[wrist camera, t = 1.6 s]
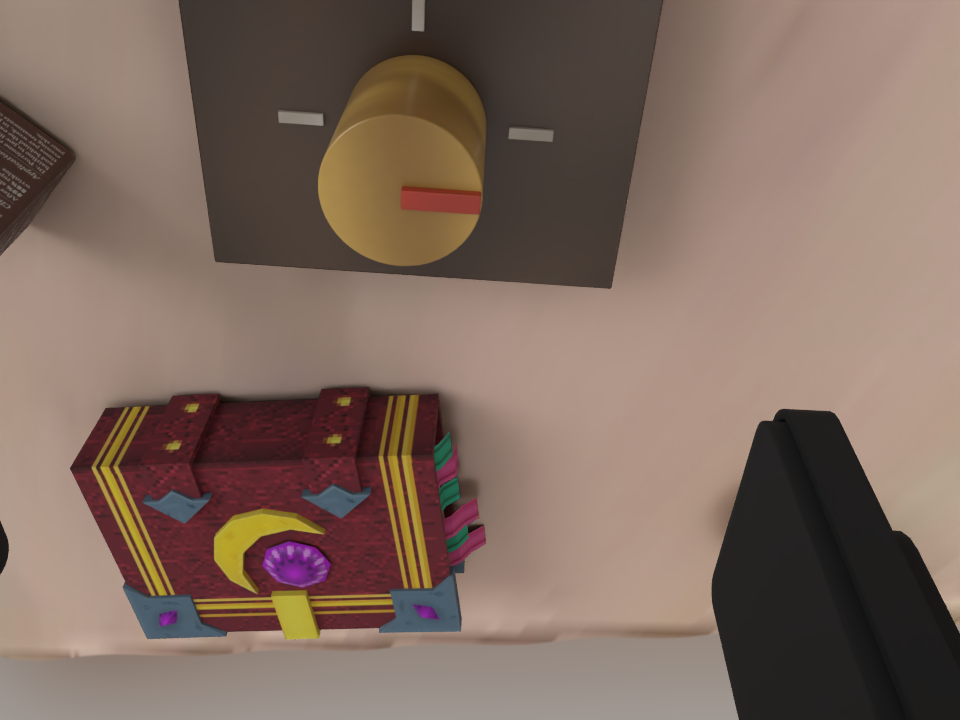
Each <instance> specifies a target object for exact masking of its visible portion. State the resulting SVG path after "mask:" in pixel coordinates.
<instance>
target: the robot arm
mask: <svg viewBox="0 0 960 720" xmlns="http://www.w3.org/2000/svg"><path fill="white" fill-rule="evenodd" d="M8 552H9V544H8V539H7V536H6V534H5V531H4V529H3V526H2V524H1V522H0V574H1V573H2V571H3V569H4V567H5V565H6V562H7V558H8ZM712 604H713V609H714V613H715V618H716V622H717V626H718V631H719V635H720V639H721V643H722V648H723V652H724V657H725V661H726V666H727V670H728V674H729V679H730V683H731V687H732V691H733V696H734V700H735V705H736V709H737V713H738V717H739V720H960V633H959V631H958V629H957V627H956V625H955V623H954V621H953V619H952V617H951V615H950V613H949V611H948V609H947V607H946V605H945V603H944V601H943V599H942V597H941V595H940V593H939V591H938V589H937V587H936V585H935V583H934V581H933V579H932V577H931V575H930V573H929V571H928V569H927V567H926V565H925V563H924V561H923V559H922V557H921V555H920V553H919V551H918V549H917V548H916V546H915V545H914V543H913V542H912V540H911V539H910V538H909V537H908V536H907V535H905V534H904V533H903V532H901V531H892V528H891V526H890V524H889V522H888V520H887V518H886V516H885V514H884V512H883V510H882V508H881V506H880V504H879V502H878V499H877V497H876V495H875V493H874V491H873V489H872V487H871V485H870V483H869V481H868V479H867V477H866V475H865V472H864V470H863V468H862V466H861V464H860V462H859V460H858V458H857V456H856V454H855V452H854V450H853V448H852V446H851V443H850V441H849V439H848V437H847V435H846V433H845V431H844V429H843V427H842V425H841V423H840V421H839V419H838V418H837V416H836V415H835V414H834V413H832V412H831V411H814V410H794V409H781V410H779V411H778V412H777V413H776V415H775V417H774V419H773V421H761V422H760V424H759V425H758V427H757V430H756V433H755V436H754V440H753V443H752V446H751V450H750V453H749V456H748V460H747V463H746V466H745V470H744V473H743V476H742V480H741V483H740V487H739V490H738V493H737V497H736V500H735V503H734V507H733V510H732V513H731V517H730V520H729V523H728V527H727V530H726V534H725V537H724V540H723V544H722V547H721V550H720V554H719V557H718V560H717V564H716V567H715V570H714V574H713V579H712Z"/></svg>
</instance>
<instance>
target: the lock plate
mask: <svg viewBox="0 0 960 720" xmlns="http://www.w3.org/2000/svg"><path fill="white" fill-rule="evenodd" d="M662 4H663V0H179V7H180V14H181V21H182V28H183V36H184V43H185V50H186V57H187V64H188V71H189V79H190V86H191V93H192V100H193V107H194V114H195V122H196V129H197V136H198V143H199V150H200V157H201V165H202V172H203V179H204V186H205V193H206V201H207V208H208V215H209V222H210V229H211V236H212V244H213V251H214V258H215V262H225V263H240V264H254V265H269V266H284V267H299V268H313V269H328V270H343V271H358V272H372V273H387V274H402V275H417V276H431V277H446V278H461V279H476V280H490V281H505V282H520V283H535V284H549V285H564V286H579V287H594V288H608V289H610V288H611V287H612V282H613V276H614V271H615V265H616V260H617V254H618V248H619V243H620V237H621V232H622V226H623V221H624V215H625V210H626V204H627V198H628V193H629V187H630V182H631V176H632V171H633V165H634V160H635V154H636V149H637V143H638V137H639V132H640V126H641V121H642V115H643V110H644V104H645V99H646V93H647V87H648V82H649V76H650V71H651V65H652V60H653V54H654V49H655V43H656V38H657V32H658V26H659V21H660V15H661V10H662ZM404 55H421V56H428V57H431V58H435V59H438V60H440V61H443V62H445V63H447V64H449V65H450V66H452V67H454V68H455V69H456V70H458V71H459V72H460V73H462V74H463V75H464V76H465V77H466V78H467V79H468V80H469V82H470V83H471V84H472V85H473V87H474V88H475V90H476V91H477V93H478V95H479V97H480V99H481V102H482V104H483V107H484V111H485V116H486V147H485V166H484V184H483V201H482V208H481V212H480V216H479V219H478V221H477V223H476V226H475V228H474V229H473V231H472V232H471V234H470V236H469V237H468V238H467V239H466V240H465V241H464V243H463V244H462V245H460V246H459V247H458V248H457V249H456V250H454V251H453V252H451V253H450V254H449V255H447V256H445V257H443V258H441V259H439V260H436V261H433V262H431V263H427V264H422V265H416V266H395V265H388V264H384V263H380V262H377V261H374V260H372V259H369V258H367V257H365V256H363V255H361V254H359V253H358V252H356V251H355V250H353V249H352V248H351V247H349V246H348V245H347V244H346V243H345V242H343V240H342V239H341V238H340V237H339V236H338V235H337V234H336V233H335V231H334V230H333V229H332V227H331V226H330V224H329V222H328V221H327V219H326V217H325V215H324V212H323V210H322V207H321V203H320V200H319V193H318V176H319V170H320V166H321V163H322V160H323V157H324V155H325V153H326V151H327V148H328V146H329V144H330V141H331V139H332V137H333V134H334V132H335V130H336V128H337V125H338V123H339V121H340V118H341V116H342V114H343V112H344V109H345V107H346V105H347V102H348V100H349V98H350V96H351V93H352V91H353V89H354V87H355V86H356V84H357V83H358V81H359V80H360V79H361V78H362V77H363V76H364V74H365V73H366V72H368V71H369V70H370V69H371V68H373V67H374V66H376V65H377V64H379V63H381V62H383V61H385V60H388V59H390V58H394V57H398V56H404Z"/></svg>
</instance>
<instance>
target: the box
mask: <svg viewBox="0 0 960 720" xmlns="http://www.w3.org/2000/svg"><path fill="white" fill-rule="evenodd" d="M74 158H75V155H74V154H73V153H72V152H70V151H69V150H68V149H66V148H65V147H63V146H62V145H60V144H59V143H58V142H56V141H55V140H53V139H52V138H51V137H49V136H48V135H46V134H45V133H43V132H42V131H41V130H39V129H38V128H36V127H35V126H34V125H32V124H31V123H30V122H28V121H27V120H25V119H24V118H23V117H21V116H20V115H18V114H17V113H16V112H14V111H13V110H11V109H10V108H9V107H7V106H6V105H5V104H3V103H2V102H0V255H1V254H2V253H3V252H4V251H5V250H6V249H7V248H8V247H9V246H10V245H11V244H12V243H13V242H14V241H15V239H16V238H18V236H19V235H20V234H21V233H22V232H23V231H24V230H25V229H26V228H27V227H28V225H29V224H30V223H31V221H32V220H33V218H34V217H35V215H36V214H37V212H38V211H39V210H40V208H41V207H42V205H43V204H44V202H45V201H46V200H47V198H48V197H49V195H50V194H51V192H52V191H53V189H54V188H55V187H56V185H57V184H58V183H59V181H60V180H61V178H62V177H63V176H64V174H65V173H66V171H67V170H68V169H69V167H70V166H71V165H72V163H73V161H74Z"/></svg>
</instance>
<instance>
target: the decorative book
mask: <svg viewBox="0 0 960 720" xmlns="http://www.w3.org/2000/svg"><path fill="white" fill-rule="evenodd" d="M458 467H459V461H458V452H457V444H456V445H455V449H454V453H453V454H452V448H451V440H450V432H448V433H447V435H446V436H445V437H444V433H443V425H442V418H441V410H440V403H439V395H438V394H424V395H400V396H377V397H370V392H369V387H365V388H342V389H321V393H320V396H319V399H306V400H283V401H259V402H236V403H222V402H221V399H220V396H219V394H203V395H180V396H173V397H172V399H171V401H170V403H169V405H165V406H142V407H118V408H106V409H105V410H104V412H103V414H102V415H101V417H100V419H99V420H98V422H97V424H96V426H95V427H94V429H93V431H92V432H91V434H90V436H89V437H88V439H87V441H86V442H85V444H84V446H83V447H82V449H81V451H80V452H79V454H78V456H77V457H76V459H75V461H74V462H73V464H72V466H71V467H70V469H71V471H72V473H73V475H74V477H75V480H76V482H77V484H78V486H79V488H80V490H81V492H82V494H83V496H84V498H85V500H86V502H87V504H88V506H89V508H90V510H91V512H92V514H93V516H94V518H95V520H96V522H97V524H98V526H99V529H100V531H101V533H102V535H103V537H104V539H105V541H106V543H107V545H108V547H109V549H110V551H111V553H112V555H113V557H114V559H115V561H116V563H117V565H118V567H119V569H120V571H121V573H122V575H123V578H124V580H125V583H124V586H123V589H124V591H125V594H126V596H127V598H128V600H129V602H130V604H131V606H132V608H133V610H134V612H135V614H136V616H137V619H138V621H139V623H140V625H141V627H142V629H143V631H144V633H145V635H146V637H147V639H161V638H191V637H221V636H226V635H227V632H234V631H275V630H283V633H284V636H285V639H318V638H319V635H320V630H321V629H357V628H379V633H389V632H455V631H461V621H462V618H461V611H460V604H459V597H458V590H457V583H456V577H455V573H464V563H465V561H464V559H465V558H466V557H467V556H468V555H469V554H470V553H471V552H472V551H474V550H476V549H478V548H479V547H481V546H483V545H484V544H486V538H485V529H484V525H483V526H481V527H480V528H478V529H476V530H474V531H473V532H471V533H469V534H468V527H467V524H469V523H471V522H473V521H474V520H476V519H478V518H479V511H478V502H477V498H475V499H473V500H471V501H469V502H467V503H466V504H464V505H462V506H461V507H460V508H459V509H458V510H456V511H455V512H454V508H453V502H454V501H456V500H458V499H460V492H459V484H458V477H456V475H457V471H458ZM454 477H456V478H454ZM452 478H454V479H452ZM451 479H452V480H451ZM450 480H451V481H450Z"/></svg>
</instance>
